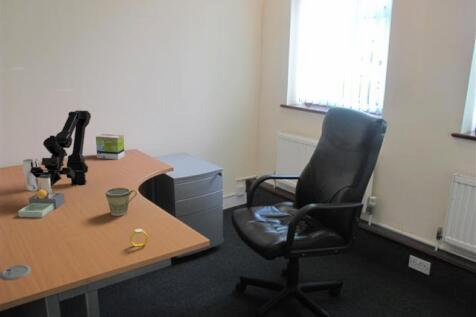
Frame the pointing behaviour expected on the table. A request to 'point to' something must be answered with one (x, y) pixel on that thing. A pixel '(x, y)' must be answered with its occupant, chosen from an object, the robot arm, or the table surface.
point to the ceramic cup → (119, 200)
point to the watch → (138, 233)
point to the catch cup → (36, 210)
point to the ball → (41, 194)
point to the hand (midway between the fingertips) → (47, 189)
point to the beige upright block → (45, 184)
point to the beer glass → (30, 178)
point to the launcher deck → (49, 199)
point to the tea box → (110, 146)
